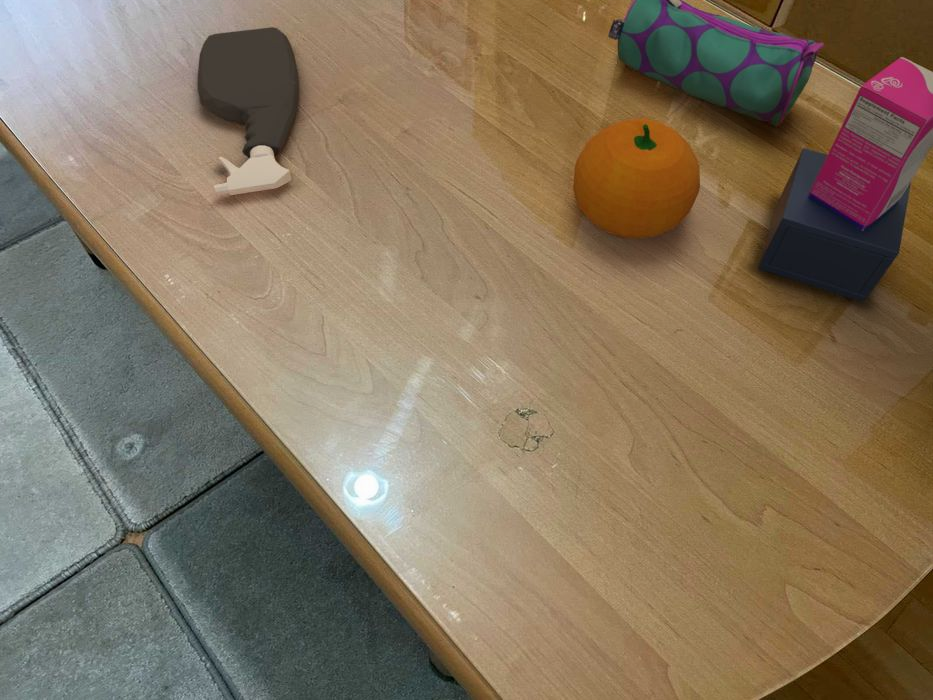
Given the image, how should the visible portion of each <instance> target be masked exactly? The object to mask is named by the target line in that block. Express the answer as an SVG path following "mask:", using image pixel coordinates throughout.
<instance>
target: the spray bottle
mask: <svg viewBox="0 0 933 700" xmlns="http://www.w3.org/2000/svg"><path fill="white" fill-rule="evenodd" d="M197 93H198V96H199V101H200V103H201V104H202V106H204V108H205V110H206V111H207V112H209V113H211V114H212V115H214V116H216V117H218V118H220V119H222V120H223V121H226V122H230V123H233V124H236V125H241V126H244V128H245V132H246V133H245V135H244V140H245V143H244V145H243V147H242V152H241V153H242V154H243V156H245V157H247V158H248V159H247V160H246V161H245V162H244V163H243V164H242V165H241V166H240V167H238V166H236V165H235V164H233V163H232V162H230V160H228V159H226V158H225V157H223V156H219V157H218V161H219V162H220V163H221V164H222V166H223V167H224V168H225V169H226V170H227V171H228V173H229V176H227V177H226V182H222V183H218V184H214V185H213V191H214V193H215V195H216V196H220V195H228V194H229V196H233V195H240V194H241V195H242V194H248V193H253V192H259V191H266V190H273V189H277V188H278V189H279V187H282V186H283V185H285V184H287V183H289V182H291V181H292V176H291V172H290V171H291V170H290V169H288V168H286V167H283V166H282V165H280V164H279V163H278V161H277V160H276V159H275V157H277V156H279V155H280V154H281V152H282V151H283V148H284V145H285V144H286V141H287V139H288V137H289V135H290V132H291V130H292V128H293V125H294V123H295V119H296V116H297V113H298V108H299V101H300V76H299V71H298V66H297V61H296V56H295V52H294V50H293V47H292V45H291V42H290V40H289V38H288V36H287V35H286V34H285V33H284V32H283V31H281V30H280V29H278V27H274V26H270V27H263V28H261V27H260V28H254V29H253V28H252V29H246V30H245V29H244V30H236V31H230V32H229V31H227V32H219V33H214V34H211V35H210V34H209V35H208V37H206V39H205V41H204V42H203V44H202V47H201V49H200V53H199V58H198V69H197Z"/></svg>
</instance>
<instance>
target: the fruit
mask: <svg viewBox="0 0 933 700" xmlns="http://www.w3.org/2000/svg"><path fill="white" fill-rule="evenodd" d="M696 156H697V155H696V154H695V152H694V151H693V148H692V147H691V145H690V143H689V142H688V141H687V140H686V139H685V138H684V137H683V135H681V134H680V133H679V132H678V131H677V130H676V129H674V128H672V127H671V126H669V125H666V124H665V123H663V122H661V121H657V120H654V119H650V118H649V119H648V118H630V119H625V120H621V121H619V122H618V121H617V122H615V123H613V124H610V125H608V126H605V127H604V128H603V129H601V130H600V131H599V132H597V133H596V134H595V135H594V136H592V137H591V138H590V139H589V140H588V141H586V143H585V145H584V146H583V149H582V150H581V152H580V153H579V155H578V157H577V159H576V160H575V164H574V170H573V181H572V183H573V184H572V189H573V193H574V197H575V199H576V202H577V205H578V207H579V209H580V211H581V213H583V214H584V215H585V217H586V218H587V219H588V220H589V221H590V223H592V224H593V225H595V226H597V227H598V228H600V229H601V230H603V231H604V232H605V233H608V234H612V235H614V236H618V237H620V238H627V239H645V238H651V237H658V236H660V235H662V234H664V233H667V232H669V231H671V230H673V229H674V228H675V227H677V226H678V225H679V224H680V223H681V222H682V221H683V220H685V218H687V216H688V215H689V214H690V212H691V210H692V209H693V206H694V204H695V203H696V199H697V198H698V195H699V193H700V188H701V175H700V173H701V171H700V165H699V161H698V158H697V157H696Z"/></svg>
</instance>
